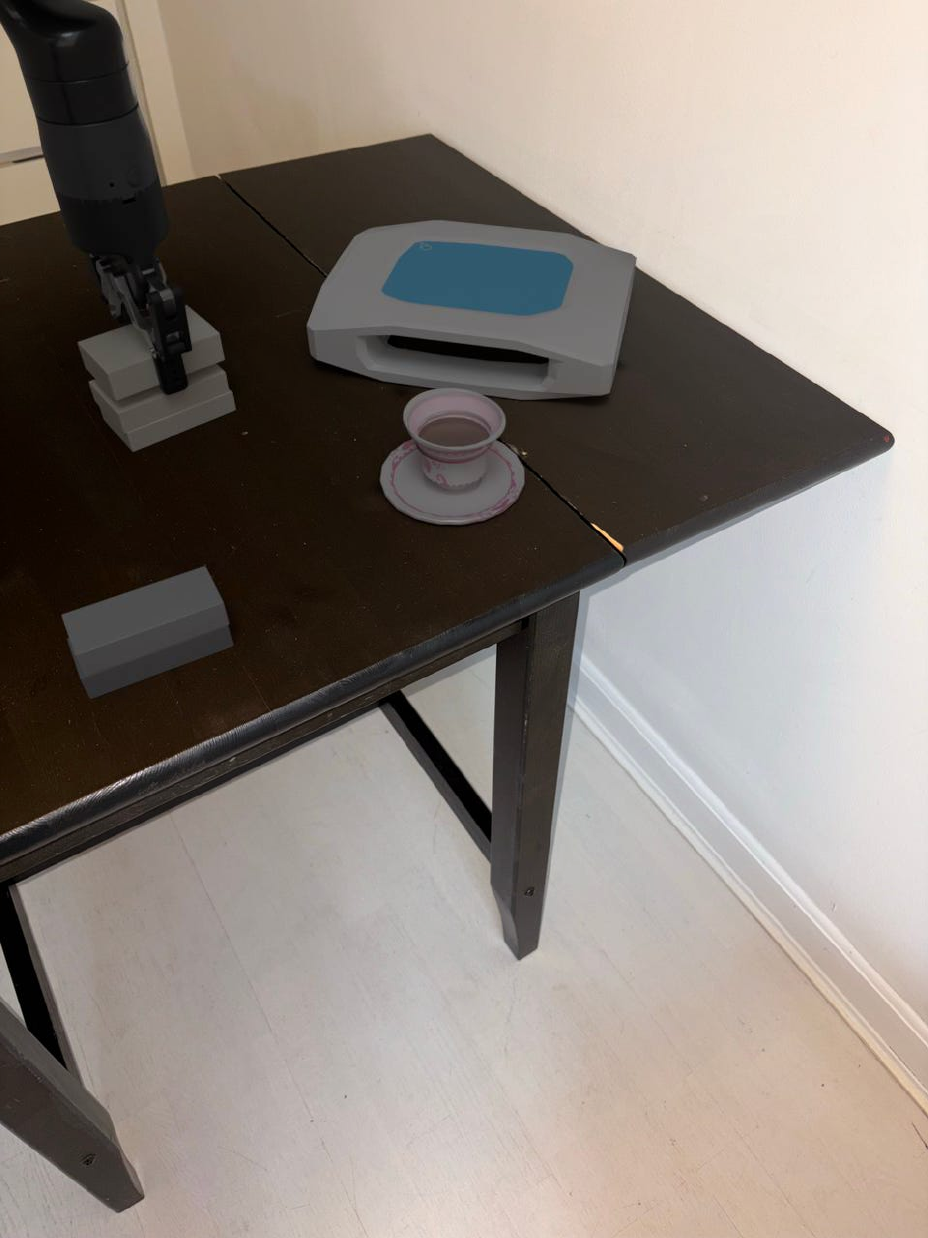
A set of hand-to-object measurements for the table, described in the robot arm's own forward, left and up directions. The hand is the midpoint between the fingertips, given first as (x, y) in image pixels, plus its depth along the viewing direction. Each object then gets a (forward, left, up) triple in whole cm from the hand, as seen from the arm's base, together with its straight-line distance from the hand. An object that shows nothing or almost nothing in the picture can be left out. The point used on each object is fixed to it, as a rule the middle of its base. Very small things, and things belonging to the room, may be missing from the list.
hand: (158, 372), depth 82 cm
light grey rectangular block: (0, 0, +1) cm, 1 cm away
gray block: (-9, -27, -4) cm, 29 cm away
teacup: (+18, -20, -5) cm, 27 cm away
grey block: (0, 0, -4) cm, 4 cm away
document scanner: (+31, -1, -5) cm, 31 cm away
